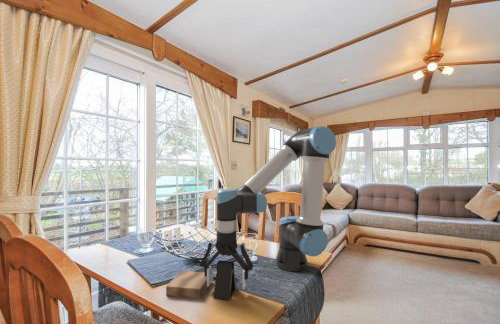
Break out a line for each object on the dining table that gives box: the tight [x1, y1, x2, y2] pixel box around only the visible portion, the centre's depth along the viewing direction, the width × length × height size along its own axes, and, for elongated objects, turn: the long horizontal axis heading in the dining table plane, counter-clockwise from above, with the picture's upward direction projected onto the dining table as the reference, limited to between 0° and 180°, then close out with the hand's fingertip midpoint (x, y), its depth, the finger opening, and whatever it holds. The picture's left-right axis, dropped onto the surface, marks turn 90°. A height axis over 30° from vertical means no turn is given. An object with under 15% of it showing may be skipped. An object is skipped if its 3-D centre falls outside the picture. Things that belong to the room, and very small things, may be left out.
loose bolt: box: [211, 271, 217, 279], centre depth 107 cm, size 8×4×4 cm, turn 82°
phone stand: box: [213, 260, 238, 301], centre depth 95 cm, size 9×6×12 cm, turn 164°
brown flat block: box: [165, 270, 208, 299], centre depth 98 cm, size 13×13×4 cm
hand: (226, 286), depth 95 cm, fingers open, 13 cm apart
